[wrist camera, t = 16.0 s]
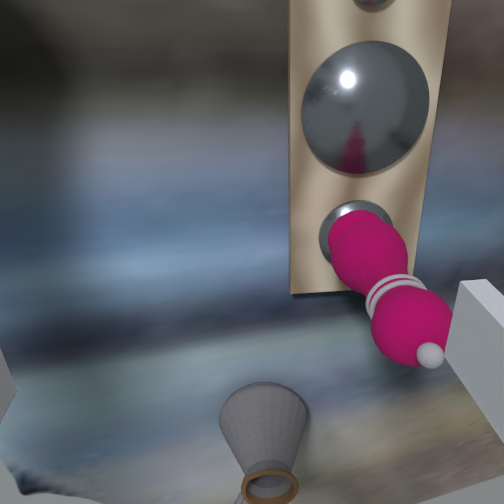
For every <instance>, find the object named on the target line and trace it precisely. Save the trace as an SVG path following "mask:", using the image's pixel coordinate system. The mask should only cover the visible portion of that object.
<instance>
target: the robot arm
mask: <svg viewBox="0 0 504 504" xmlns="http://www.w3.org/2000/svg"><path fill="white" fill-rule="evenodd" d="M444 356H445V358H446V359H447V361H448V362H449V364H450V365H451V367H452V368H453V370H454V371H455V373H456V374H457V375H458V377H459V378H460V380H461V381H462V383H463V384H464V386H465V387H466V389H467V390H468V392H469V393H470V395H471V396H472V397H473V399H474V400H475V402H476V403H477V405H478V406H479V408H480V409H481V411H482V412H483V414H484V415H485V417H486V418H487V419H488V421H489V422H490V424H491V425H492V427H493V428H494V430H495V431H496V433H497V434H498V436H499V437H500V439H501V440H502V441H503V443H504V296H503V295H502V294H501V293H500V292H499V291H498V290H497V289H496V288H495V287H494V286H493V285H492V284H491V283H489V282H488V281H487V280H486V279H483V280H469V281H460V285H459V289H458V294H457V298H456V303H455V307H454V312H453V316H452V321H451V325H450V330H449V334H448V339H447V344H446V348H445V353H444ZM16 392H17V390H16V388H15V385H14V382H13V380H12V377H11V375H10V372H9V369H8V367H7V364H6V362H5V359H4V356H3V354H2V351H1V349H0V423H1V421H2V419H3V417H4V415H5V413H6V411H7V409H8V407H9V405H10V403H11V401H12V399H13V397H14V396H15V394H16Z"/></svg>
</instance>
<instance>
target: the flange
mask: <svg viewBox="0 0 504 504" xmlns="http://www.w3.org/2000/svg"><path fill="white" fill-rule="evenodd" d="M354 210H367V211H370V212H373V213H375V214H376V215H378V216H379V217H380V218H381V220H382V221H383V222H385V223H388V224H389V225H391V226H392V227H393V223H392V220H391V218H390V216H389V215H388V214H387V212H386V211H385V210H384V209H383V208H382V207H380V206H379V205H377V204H376V203H373V202H370V201H366V200H354V201H349V202H346V203H343V204H341V205H339V206H337V207H336V208H335V209H333V210H332V211H331V212H330V213H329V214H328V215H327V216H326V217H325V219H324V220H323V222H322V224H321V227H320V230H319V235H318V242H319V246H320V249H321V252H322V254H323V255H324V257H325V258H326V259H327V260H328V261H329V262H330V263H331V252H330V249H329V247H328V234H329V230H330V228H331V226H332V225H333V224H334V222H335V221H336V220H337V219H338V218H339V217H341V216H342V215H344V214H345V213H348V212H350V211H354Z"/></svg>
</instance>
